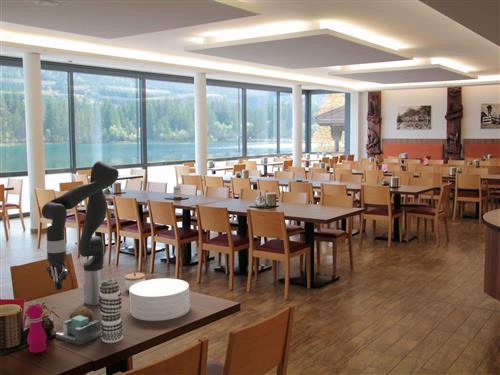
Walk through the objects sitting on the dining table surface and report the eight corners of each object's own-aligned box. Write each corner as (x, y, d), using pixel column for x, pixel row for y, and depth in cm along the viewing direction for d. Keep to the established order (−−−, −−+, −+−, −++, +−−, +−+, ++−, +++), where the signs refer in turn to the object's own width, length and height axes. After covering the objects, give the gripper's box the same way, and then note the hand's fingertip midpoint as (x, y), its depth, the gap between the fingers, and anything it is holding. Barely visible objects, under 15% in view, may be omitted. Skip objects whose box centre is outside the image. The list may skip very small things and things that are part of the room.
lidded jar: (129, 286, 300) (128, 269, 299) (148, 286, 299) (147, 269, 298) (122, 292, 289) (121, 275, 288) (142, 292, 288) (141, 275, 287)
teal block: (72, 334, 230) (71, 318, 230) (80, 331, 234) (78, 315, 233) (82, 337, 227) (80, 321, 226) (89, 334, 230) (88, 317, 230)
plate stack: (172, 296, 282) (171, 275, 280) (200, 311, 259) (199, 288, 258) (120, 308, 265) (119, 285, 264) (146, 325, 243) (145, 300, 241)
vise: (56, 337, 231) (55, 323, 230) (77, 329, 240) (76, 314, 239) (80, 345, 223) (79, 329, 222) (100, 335, 232) (99, 321, 231)
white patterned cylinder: (112, 332, 235) (108, 276, 232) (128, 336, 230) (125, 278, 227) (96, 340, 227) (92, 282, 224) (112, 344, 223) (109, 285, 219)
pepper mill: (31, 346, 223) (27, 298, 220) (49, 345, 223) (46, 297, 221) (25, 353, 216) (21, 304, 213) (44, 352, 216) (40, 303, 214)
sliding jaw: (63, 334, 230) (62, 321, 229) (80, 327, 237) (79, 315, 236) (67, 335, 228) (66, 322, 228) (84, 328, 236) (83, 316, 235)
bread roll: (71, 331, 247) (72, 318, 243) (67, 315, 255) (67, 303, 251) (94, 327, 252) (94, 314, 248) (89, 311, 259) (89, 299, 255)
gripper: (73, 250, 231) (75, 289, 234) (54, 246, 239) (56, 284, 241) (58, 254, 225) (60, 294, 227) (38, 249, 232) (41, 289, 235)
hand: (58, 289), depth 234 cm, fingers closed
